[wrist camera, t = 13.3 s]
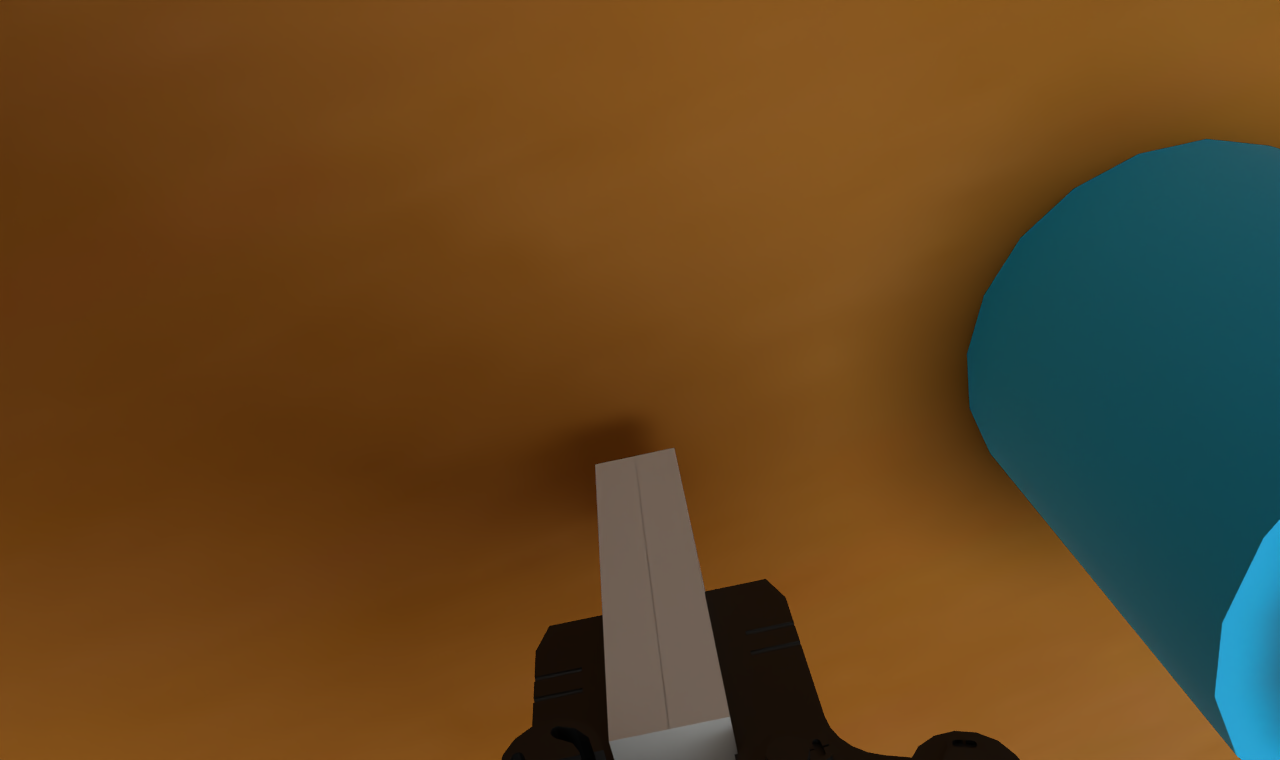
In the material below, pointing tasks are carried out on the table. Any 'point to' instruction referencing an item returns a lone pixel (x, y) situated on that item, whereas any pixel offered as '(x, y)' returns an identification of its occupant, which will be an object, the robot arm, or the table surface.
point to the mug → (1156, 409)
